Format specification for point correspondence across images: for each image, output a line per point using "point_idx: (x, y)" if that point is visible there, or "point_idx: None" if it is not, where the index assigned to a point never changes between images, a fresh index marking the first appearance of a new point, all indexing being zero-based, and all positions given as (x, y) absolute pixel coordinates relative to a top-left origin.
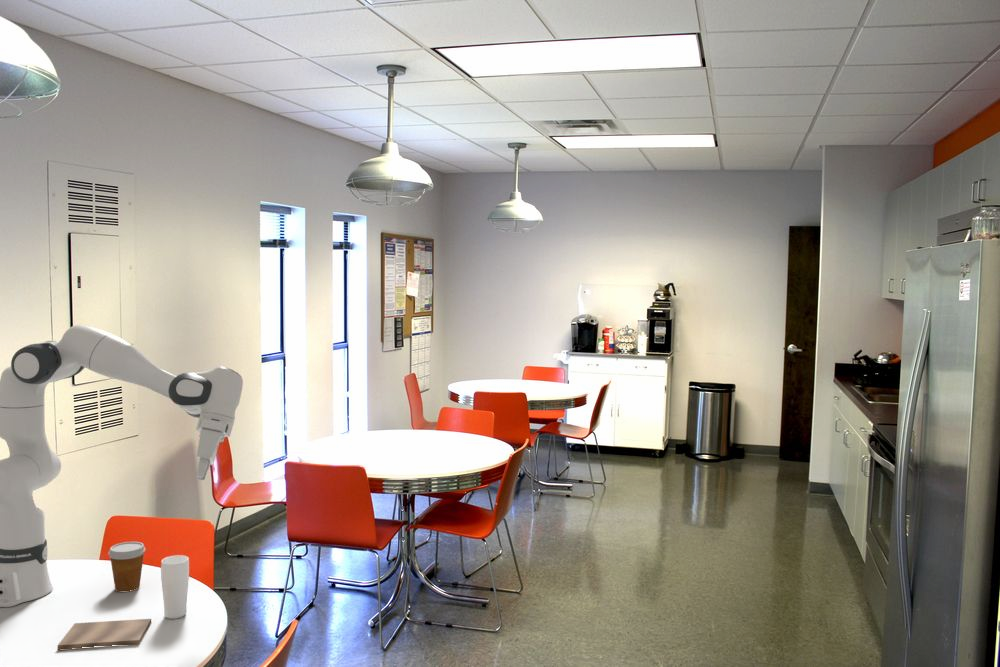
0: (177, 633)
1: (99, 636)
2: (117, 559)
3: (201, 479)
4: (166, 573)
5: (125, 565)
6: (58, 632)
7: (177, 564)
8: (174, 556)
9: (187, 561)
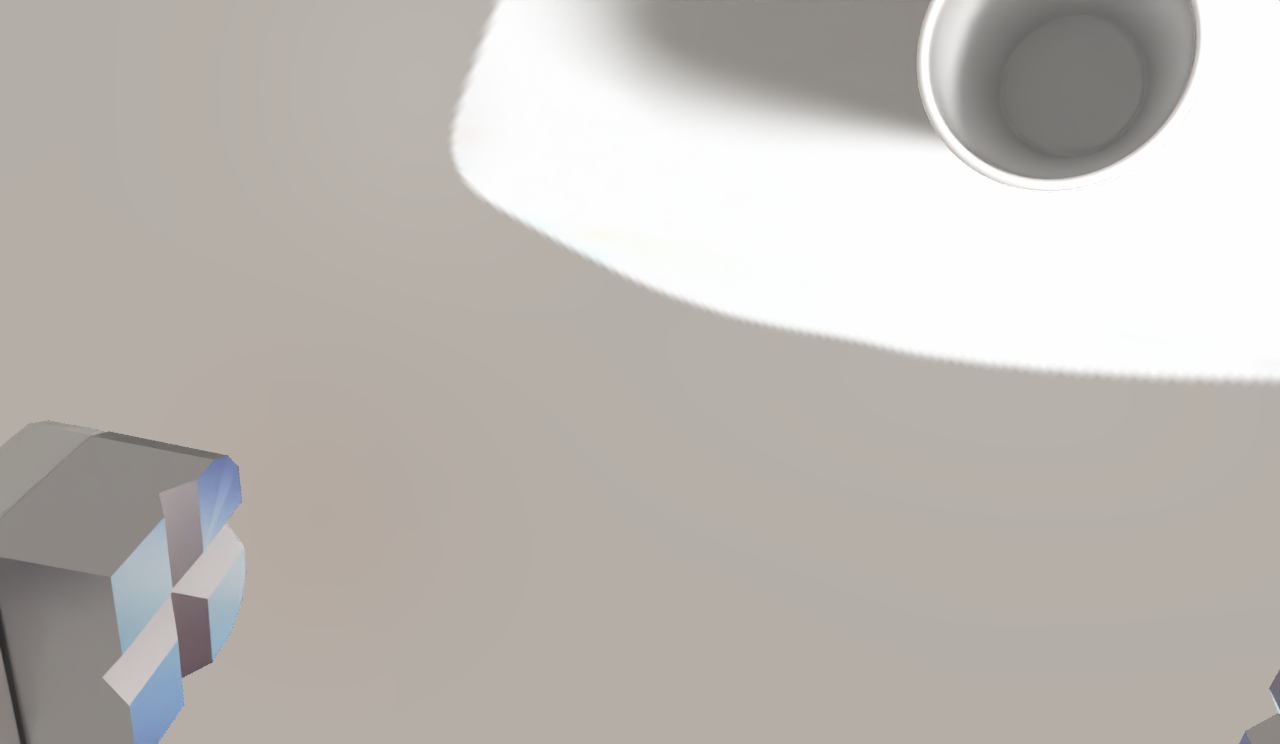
0: (772, 79)
1: None
2: None
3: (1254, 728)
4: None
5: None
6: None
7: (916, 66)
8: (1196, 53)
9: (975, 170)
